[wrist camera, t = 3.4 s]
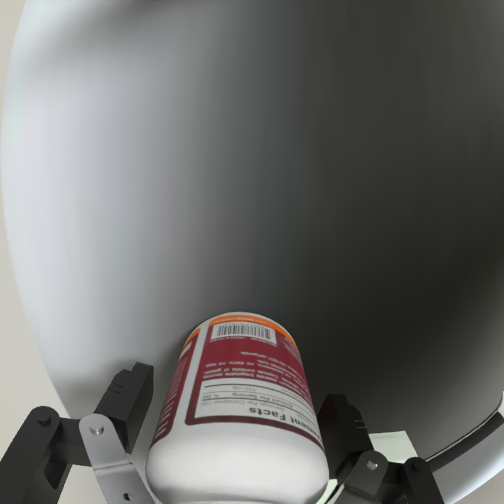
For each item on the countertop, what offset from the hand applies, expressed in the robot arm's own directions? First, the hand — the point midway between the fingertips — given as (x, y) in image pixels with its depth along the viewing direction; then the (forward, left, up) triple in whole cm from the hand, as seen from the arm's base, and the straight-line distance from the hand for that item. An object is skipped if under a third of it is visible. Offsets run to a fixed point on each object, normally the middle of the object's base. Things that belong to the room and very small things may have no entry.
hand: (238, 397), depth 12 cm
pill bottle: (0, 0, -3) cm, 3 cm away
